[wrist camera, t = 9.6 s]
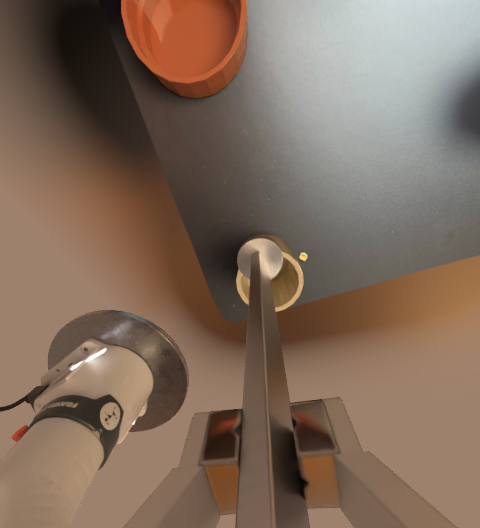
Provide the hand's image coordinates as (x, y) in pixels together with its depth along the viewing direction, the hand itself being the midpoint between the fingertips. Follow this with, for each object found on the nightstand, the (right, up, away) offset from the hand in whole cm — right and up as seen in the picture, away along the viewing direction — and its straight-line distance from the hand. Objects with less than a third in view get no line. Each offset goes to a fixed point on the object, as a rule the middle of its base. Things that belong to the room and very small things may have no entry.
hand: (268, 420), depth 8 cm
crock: (+3, +6, +35) cm, 36 cm away
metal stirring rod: (+1, +6, +18) cm, 19 cm away
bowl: (-7, +35, +27) cm, 45 cm away
